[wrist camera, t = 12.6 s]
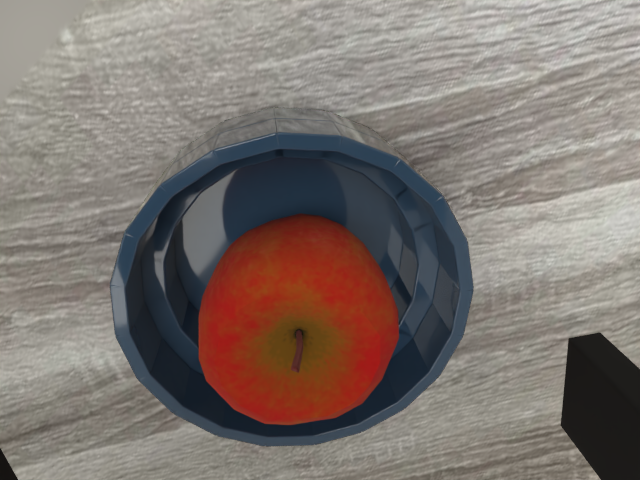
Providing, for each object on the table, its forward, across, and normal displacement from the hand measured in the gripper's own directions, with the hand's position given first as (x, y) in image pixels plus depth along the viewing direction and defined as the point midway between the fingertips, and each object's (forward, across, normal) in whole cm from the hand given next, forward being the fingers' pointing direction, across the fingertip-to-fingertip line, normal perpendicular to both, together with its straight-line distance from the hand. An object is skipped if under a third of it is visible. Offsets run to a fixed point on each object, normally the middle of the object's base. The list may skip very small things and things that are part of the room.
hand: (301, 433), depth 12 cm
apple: (+10, 0, 0) cm, 10 cm away
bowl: (+10, 0, 0) cm, 11 cm away
